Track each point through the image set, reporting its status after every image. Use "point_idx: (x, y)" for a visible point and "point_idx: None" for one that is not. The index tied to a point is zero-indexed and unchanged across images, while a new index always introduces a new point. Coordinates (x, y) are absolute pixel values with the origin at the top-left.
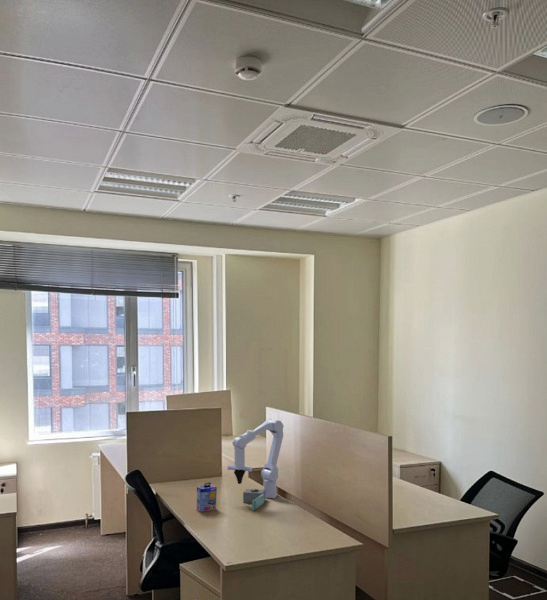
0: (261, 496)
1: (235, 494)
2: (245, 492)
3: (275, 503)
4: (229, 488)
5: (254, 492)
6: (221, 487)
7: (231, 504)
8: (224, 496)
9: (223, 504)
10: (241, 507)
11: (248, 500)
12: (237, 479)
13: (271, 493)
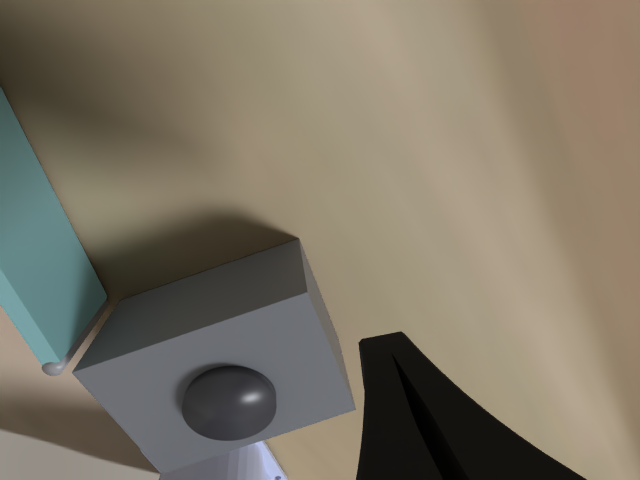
0: (2, 292)
1: (479, 380)
2: (281, 305)
3: (21, 355)
4: (571, 450)
5: (185, 356)
6: (628, 441)
7: (369, 121)
8: (542, 303)
9: (449, 76)
10: (196, 68)
11: (247, 266)
12: (439, 384)
13: (165, 474)
